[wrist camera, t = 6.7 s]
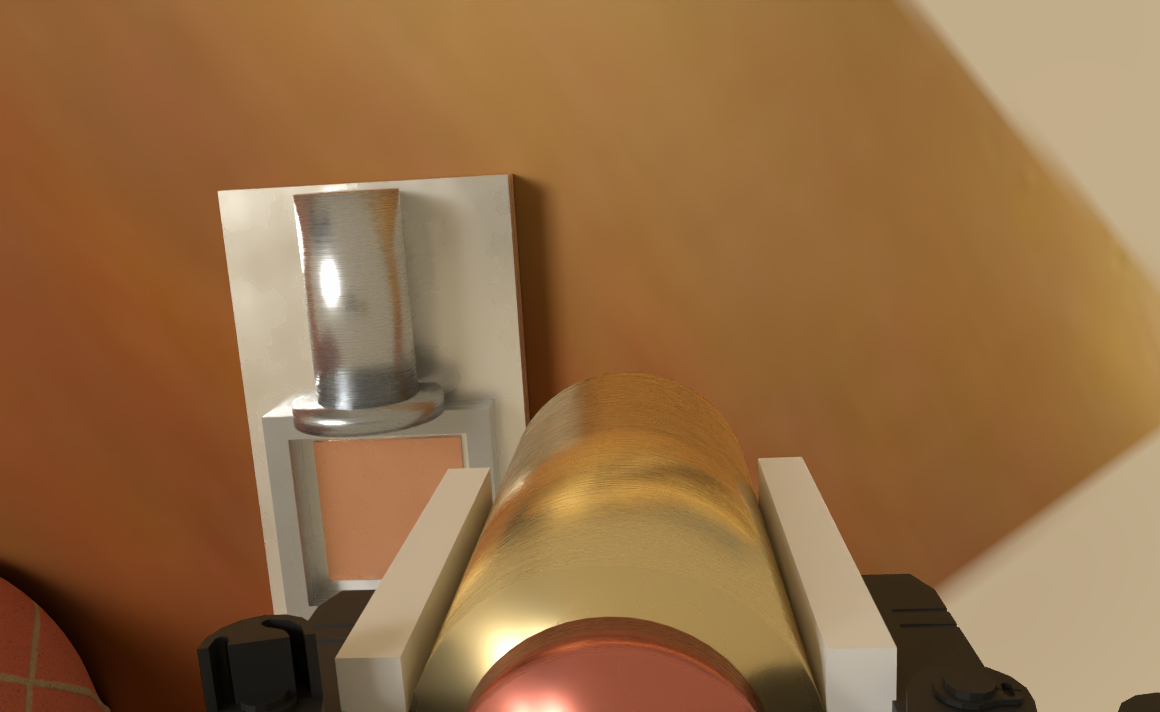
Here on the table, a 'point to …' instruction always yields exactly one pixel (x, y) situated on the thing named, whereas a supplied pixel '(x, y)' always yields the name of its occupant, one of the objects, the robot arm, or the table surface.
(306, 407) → the pipeline
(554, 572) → the brass cylinder
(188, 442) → the table surface
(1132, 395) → the table surface
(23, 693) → the planter
